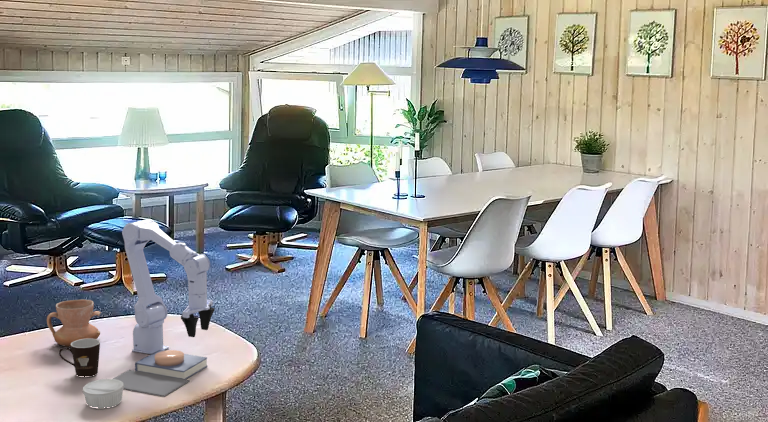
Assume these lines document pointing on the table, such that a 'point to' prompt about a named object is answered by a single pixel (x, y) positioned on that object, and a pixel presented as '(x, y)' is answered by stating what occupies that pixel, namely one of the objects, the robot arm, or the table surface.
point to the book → (181, 371)
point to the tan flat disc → (169, 358)
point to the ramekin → (103, 393)
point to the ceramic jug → (74, 321)
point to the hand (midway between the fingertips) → (198, 333)
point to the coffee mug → (84, 356)
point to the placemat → (150, 382)
